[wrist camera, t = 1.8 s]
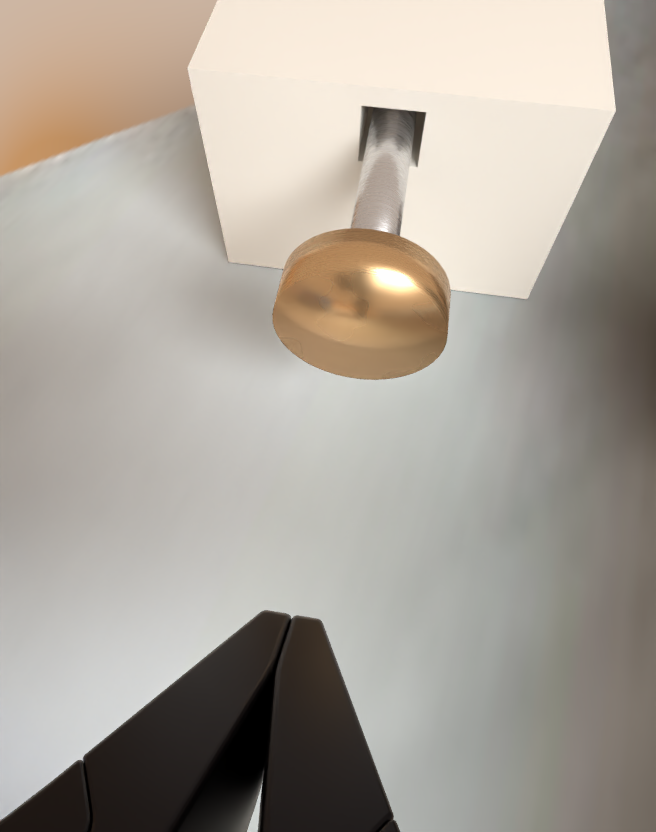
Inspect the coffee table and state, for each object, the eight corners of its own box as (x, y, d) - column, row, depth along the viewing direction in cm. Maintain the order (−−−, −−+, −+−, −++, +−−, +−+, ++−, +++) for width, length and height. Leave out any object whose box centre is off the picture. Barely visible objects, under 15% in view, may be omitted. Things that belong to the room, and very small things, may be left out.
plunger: (432, 388, 19) (464, 285, 14) (279, 367, 19) (264, 260, 15) (452, 158, 24) (480, 29, 19) (331, 145, 24) (331, 16, 20)
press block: (527, 299, 27) (615, 110, 19) (228, 262, 28) (187, 68, 20) (527, 178, 30) (601, -24, 22) (263, 150, 31) (241, -53, 23)
